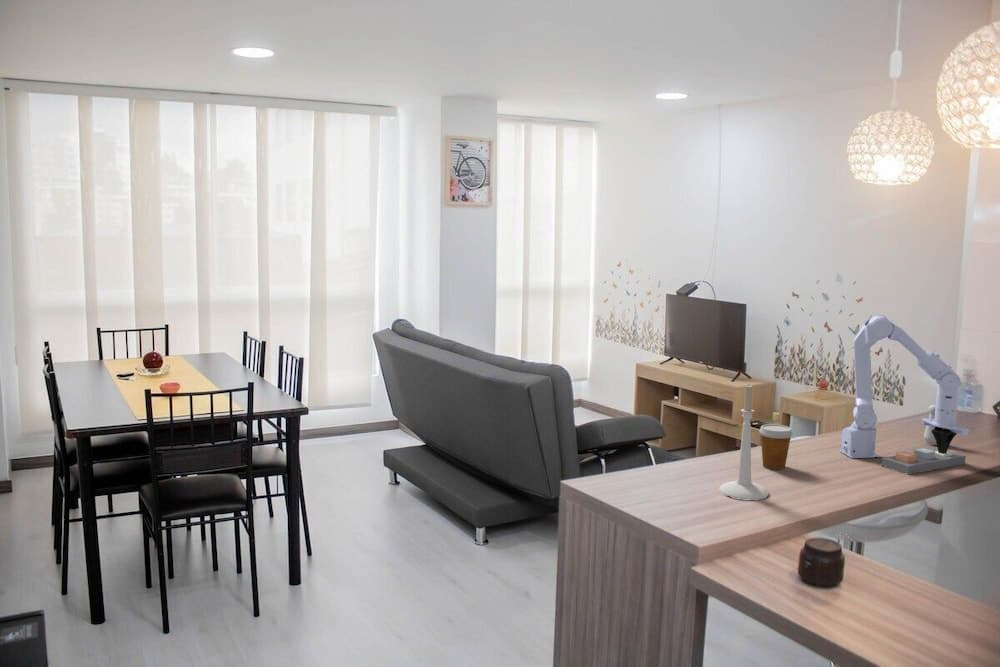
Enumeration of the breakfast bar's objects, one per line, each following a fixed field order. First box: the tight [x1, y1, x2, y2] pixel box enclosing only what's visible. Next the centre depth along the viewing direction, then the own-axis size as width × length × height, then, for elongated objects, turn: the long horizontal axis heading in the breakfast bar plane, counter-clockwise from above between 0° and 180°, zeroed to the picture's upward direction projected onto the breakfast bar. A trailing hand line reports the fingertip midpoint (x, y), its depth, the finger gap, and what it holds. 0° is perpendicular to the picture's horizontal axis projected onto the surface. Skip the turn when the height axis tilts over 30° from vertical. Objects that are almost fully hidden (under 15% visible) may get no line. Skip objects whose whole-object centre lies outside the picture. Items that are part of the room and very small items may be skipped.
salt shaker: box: [923, 404, 937, 446], centre depth 273 cm, size 6×6×13 cm
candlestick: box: [718, 384, 769, 501], centre depth 224 cm, size 13×13×30 cm
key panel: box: [881, 448, 967, 475], centre depth 251 cm, size 25×9×2 cm, turn 115°
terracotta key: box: [895, 450, 917, 463], centre depth 247 cm, size 4×4×2 cm
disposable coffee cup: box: [758, 423, 794, 470], centre depth 248 cm, size 10×10×12 cm
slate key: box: [913, 447, 935, 460], centre depth 251 cm, size 4×4×2 cm
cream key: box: [935, 451, 953, 457], centre depth 254 cm, size 4×4×2 cm
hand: (942, 452), depth 254 cm, fingers closed
